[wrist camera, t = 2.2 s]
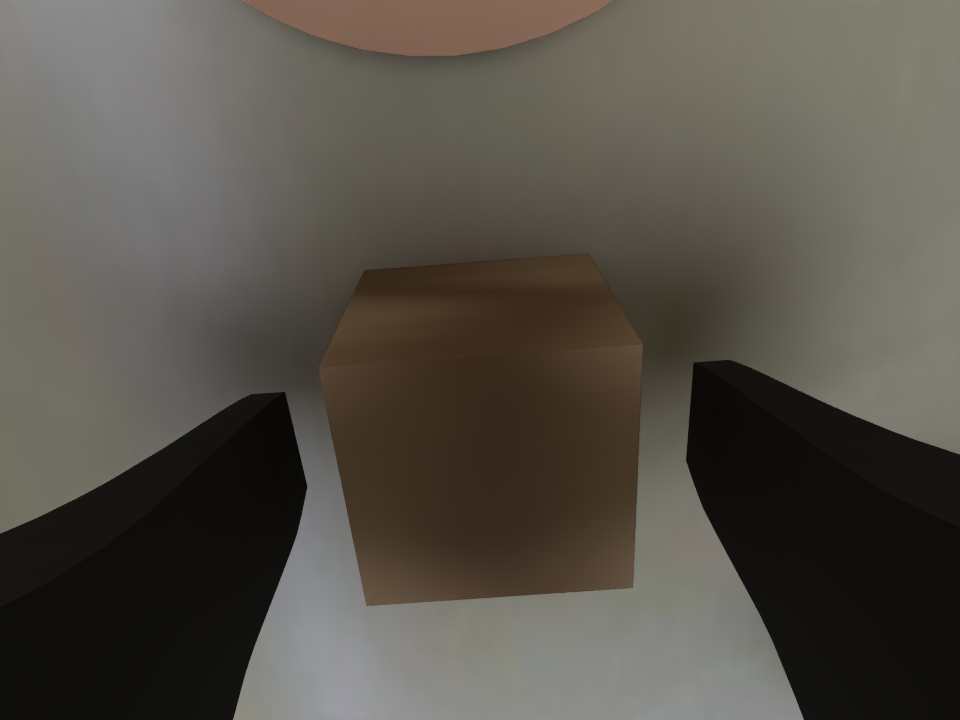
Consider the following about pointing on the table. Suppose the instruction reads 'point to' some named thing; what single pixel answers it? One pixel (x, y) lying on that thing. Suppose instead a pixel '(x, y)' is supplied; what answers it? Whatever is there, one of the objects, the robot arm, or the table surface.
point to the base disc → (428, 22)
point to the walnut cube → (487, 429)
